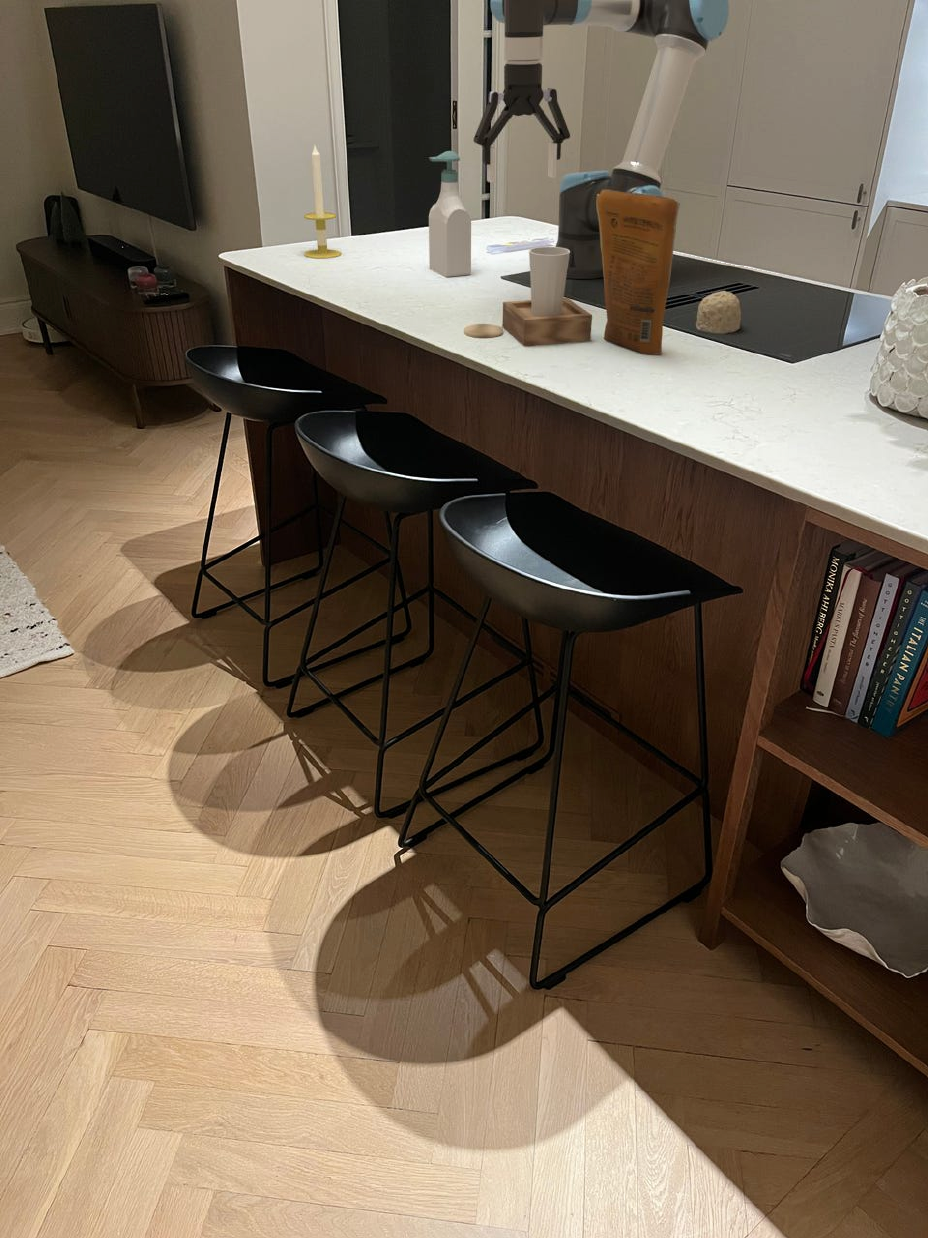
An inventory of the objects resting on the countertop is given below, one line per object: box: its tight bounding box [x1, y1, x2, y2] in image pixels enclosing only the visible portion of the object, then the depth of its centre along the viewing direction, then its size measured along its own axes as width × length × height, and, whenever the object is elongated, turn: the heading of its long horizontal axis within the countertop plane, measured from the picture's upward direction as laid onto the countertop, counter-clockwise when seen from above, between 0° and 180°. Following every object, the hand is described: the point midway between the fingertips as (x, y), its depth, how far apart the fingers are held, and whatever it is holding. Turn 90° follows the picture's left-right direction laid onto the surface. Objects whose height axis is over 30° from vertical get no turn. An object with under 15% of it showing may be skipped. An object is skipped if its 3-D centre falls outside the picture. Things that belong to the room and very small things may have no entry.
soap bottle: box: [428, 150, 472, 278], centre depth 233 cm, size 11×8×27 cm
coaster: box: [463, 323, 504, 339], centre depth 196 cm, size 8×8×1 cm
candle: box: [303, 142, 342, 260], centre depth 250 cm, size 10×10×27 cm
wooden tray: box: [501, 297, 593, 347], centre depth 195 cm, size 14×14×5 cm
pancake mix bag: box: [596, 190, 681, 355], centre depth 182 cm, size 7×19×28 cm, turn 34°
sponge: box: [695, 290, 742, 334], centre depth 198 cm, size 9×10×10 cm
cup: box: [528, 246, 570, 317], centre depth 191 cm, size 8×8×12 cm
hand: (521, 179), depth 201 cm, fingers open, 13 cm apart
